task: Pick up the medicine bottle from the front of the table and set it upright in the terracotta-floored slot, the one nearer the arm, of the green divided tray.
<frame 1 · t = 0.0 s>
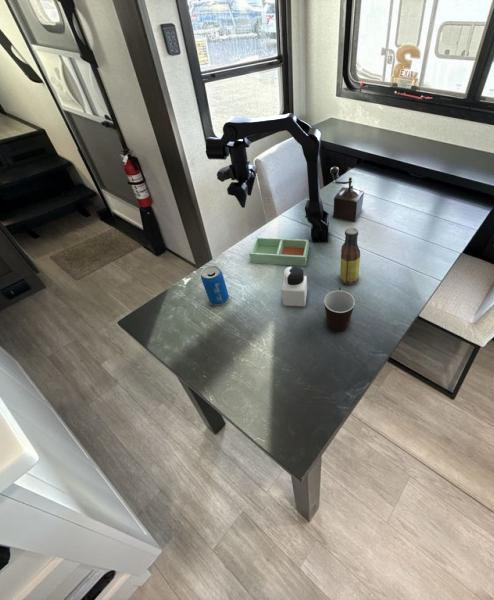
hand: (246, 201, 119), 15 cm above the table, tool pointing down, fingers open, 9 cm apart
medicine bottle: (295, 298, 103), on the table
coffee mug: (339, 321, 96), on the table
sauce bottle: (348, 279, 108), on the table
green divided tray: (280, 255, 119), on the table
coffee grinder: (342, 212, 139), on the table
beverage can: (219, 299, 103), on the table
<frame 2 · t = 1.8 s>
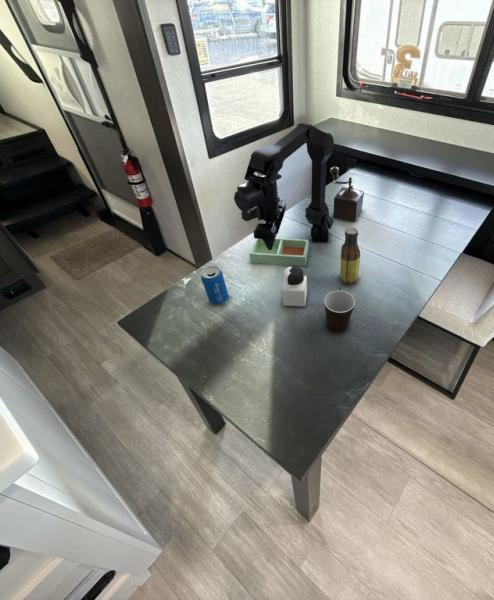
hand: (273, 241, 103), 13 cm above the table, tool pointing down, fingers open, 9 cm apart
nothing on the table moved.
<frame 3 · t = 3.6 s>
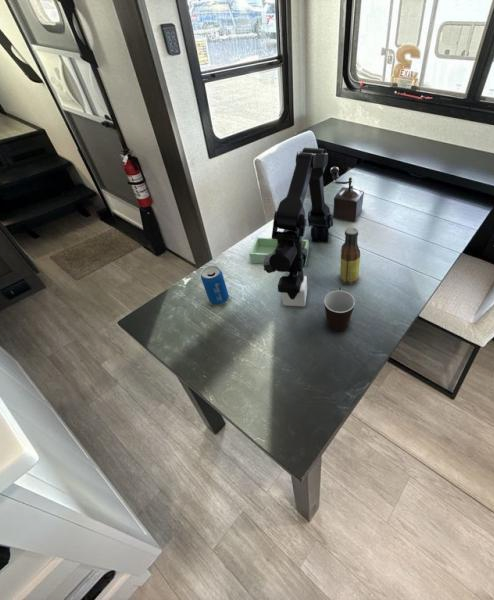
hand: (294, 288, 99), 4 cm above the table, tool pointing down
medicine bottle: (295, 298, 103), on the table, touching gripper
everything else where it was.
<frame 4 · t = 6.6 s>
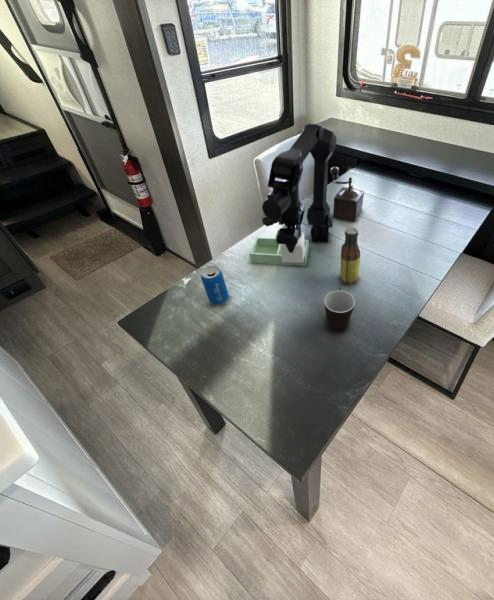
hand: (292, 245, 102), 13 cm above the table, tool pointing down, fingers closed on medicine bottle, 7 cm apart
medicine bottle: (293, 256, 106), point 8 cm above the table, touching gripper
everything else where it was.
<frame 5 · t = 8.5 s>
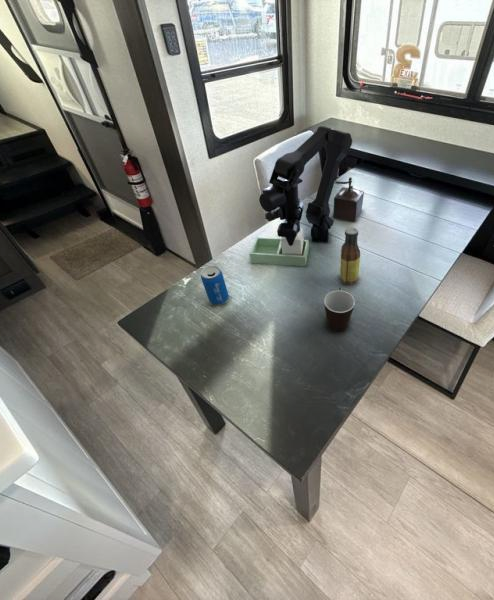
hand: (292, 239, 113), 8 cm above the table, tool pointing down, fingers closed on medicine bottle, 7 cm apart
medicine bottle: (293, 249, 116), point 3 cm above the table, touching gripper
everything else where it was.
when the fingers open (6 cm above the table, at t = 9.7 s): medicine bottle stays where it is, resting on green divided tray.
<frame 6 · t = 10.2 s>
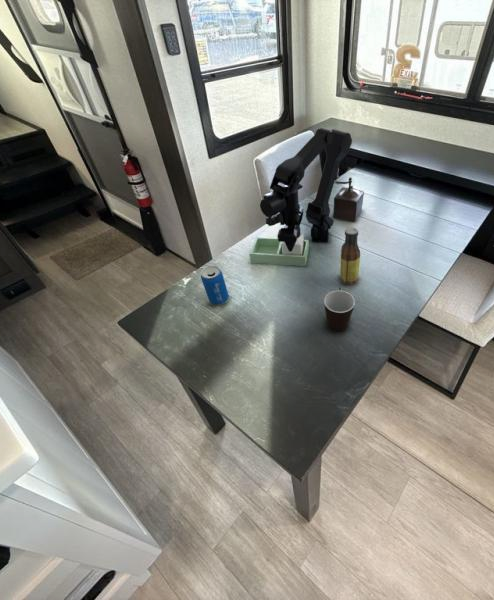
hand: (292, 243, 114), 6 cm above the table, tool pointing down, fingers open, 9 cm apart
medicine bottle: (293, 254, 118), point 1 cm above the table, touching green divided tray
everything else where it was.
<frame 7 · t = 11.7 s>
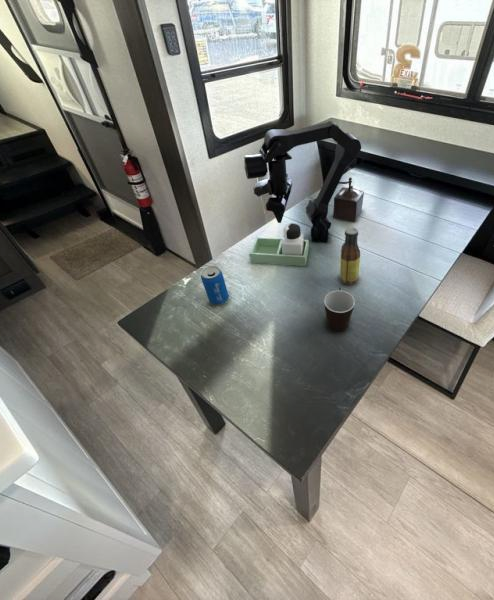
hand: (281, 215, 114), 13 cm above the table, tool pointing down, fingers open, 9 cm apart
nothing on the table moved.
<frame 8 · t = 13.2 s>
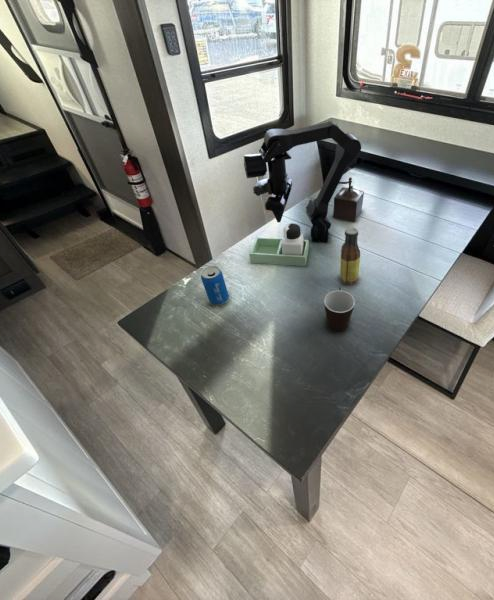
hand: (281, 215, 114), 13 cm above the table, tool pointing down, fingers open, 9 cm apart
nothing on the table moved.
at the end: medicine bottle 0.2 cm from the target spot in the green divided tray, point 0.6 cm above the green divided tray's base; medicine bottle tilted 0° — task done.
